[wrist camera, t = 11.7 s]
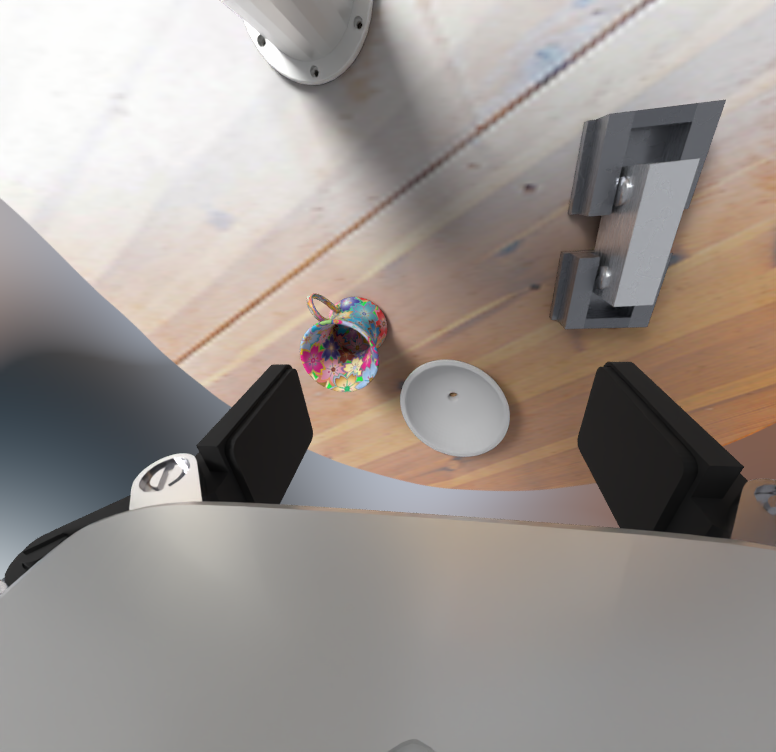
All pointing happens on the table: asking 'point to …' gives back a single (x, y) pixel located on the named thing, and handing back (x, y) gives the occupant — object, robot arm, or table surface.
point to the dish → (455, 408)
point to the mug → (344, 343)
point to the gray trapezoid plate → (641, 230)
